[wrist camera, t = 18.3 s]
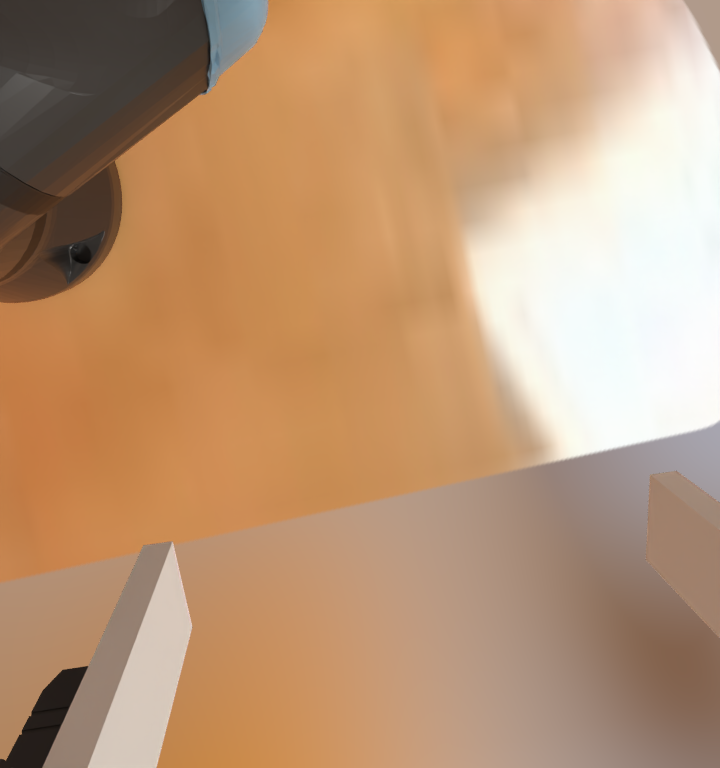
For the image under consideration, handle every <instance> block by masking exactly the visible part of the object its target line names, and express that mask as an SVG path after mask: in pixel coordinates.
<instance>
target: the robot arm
mask: <svg viewBox="0 0 720 768" xmlns="http://www.w3.org/2000/svg"><path fill="white" fill-rule="evenodd" d="M267 14H268V0H0V302H3V303H21V302H31V301H37V300H41V299H45V298H48V297H51V296H54V295H56V294H59V293H61V292H64V291H66V290H69V289H71V288H73V287H75V286H76V285H78V284H79V283H81V282H83V281H84V280H85V279H87V278H88V277H89V276H90V275H91V274H93V273H94V272H95V271H96V269H97V268H98V267H99V266H100V265H101V264H102V263H103V261H104V260H105V258H106V257H107V255H108V254H109V252H110V250H111V248H112V246H113V244H114V242H115V239H116V236H117V233H118V230H119V226H120V221H121V213H122V193H121V185H120V179H119V175H118V171H117V167H116V164H115V160H116V159H117V158H118V157H120V156H121V155H122V154H124V153H125V152H126V151H127V150H129V149H130V148H131V147H133V146H134V145H135V144H137V143H138V142H139V141H140V140H142V139H143V138H144V137H146V136H147V135H148V134H149V133H151V132H152V131H153V130H155V129H156V128H157V127H158V126H160V125H161V124H162V123H164V122H165V121H166V120H167V119H169V118H170V117H171V116H173V115H174V114H175V113H176V112H178V111H179V110H180V109H182V108H183V107H184V106H185V105H187V104H188V103H189V102H191V101H192V100H193V99H195V98H196V97H197V96H198V95H204V94H207V93H208V92H209V91H211V88H212V87H213V86H215V85H216V83H217V80H218V78H219V76H220V75H221V74H223V73H224V72H225V71H226V70H227V69H228V68H229V67H231V66H232V65H233V64H234V63H235V62H236V61H237V60H239V59H240V58H241V57H242V56H243V55H244V54H245V53H247V52H248V51H249V50H250V49H251V48H252V47H253V46H254V45H255V44H256V43H257V40H258V38H259V36H260V35H261V33H262V32H263V27H264V25H265V23H266V19H267ZM646 561H647V562H648V563H649V564H650V565H651V566H652V567H653V568H654V569H655V570H656V571H657V572H658V573H659V574H660V575H661V577H662V578H663V579H664V580H665V581H666V582H667V583H668V584H669V585H670V586H671V587H672V588H673V589H674V590H675V591H676V592H677V593H678V595H680V597H681V598H682V599H683V600H684V601H685V602H686V603H687V604H688V605H689V606H690V607H691V608H692V609H693V610H694V611H695V612H696V613H697V615H698V616H699V617H700V618H701V619H702V620H703V621H704V622H705V623H706V624H707V625H708V626H709V627H710V628H711V629H712V630H713V631H714V633H715V634H716V635H717V636H718V637H719V638H720V502H718V501H716V499H714V498H713V497H711V496H710V495H709V494H707V493H706V492H705V491H703V490H702V489H700V488H699V487H698V486H696V485H695V484H693V483H692V482H691V481H690V480H688V479H687V478H685V477H684V476H683V475H681V474H680V473H679V472H677V471H673V472H666V473H659V474H651V475H650V485H649V505H648V525H647V544H646ZM191 630H192V624H191V620H190V615H189V610H188V606H187V602H186V597H185V593H184V589H183V584H182V580H181V576H180V571H179V567H178V563H177V558H176V554H175V550H174V545H173V541H172V542H164V543H157V544H150V545H143V547H142V550H141V552H140V554H139V556H138V559H137V561H136V563H135V565H134V567H133V569H132V572H131V574H130V576H129V578H128V581H127V583H126V585H125V587H124V589H123V591H122V594H121V596H120V598H119V601H118V603H117V605H116V607H115V609H114V611H113V614H112V616H111V618H110V620H109V622H108V624H107V627H106V629H105V631H104V633H103V635H102V638H101V640H100V642H99V644H98V646H97V649H96V651H95V653H94V655H93V657H92V660H91V662H90V664H89V666H86V667H80V668H72V669H67V670H62V671H61V672H60V673H59V674H58V675H57V676H56V677H55V678H54V680H52V682H51V683H50V684H49V685H48V686H47V687H46V688H45V689H44V690H43V691H42V693H41V695H40V697H39V699H38V701H37V703H36V705H35V707H34V708H33V710H32V715H31V716H29V718H28V720H27V722H26V724H25V725H24V727H23V730H22V735H19V737H18V739H17V741H16V743H15V744H14V746H13V748H12V751H11V752H10V754H9V756H8V758H7V760H6V761H5V760H3V759H0V768H156V767H157V763H158V759H159V755H160V752H161V748H162V744H163V740H164V736H165V732H166V728H167V724H168V720H169V716H170V712H171V708H172V704H173V701H174V696H175V692H176V689H177V685H178V680H179V677H180V673H181V669H182V665H183V661H184V657H185V653H186V649H187V646H188V642H189V638H190V634H191Z"/></svg>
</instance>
